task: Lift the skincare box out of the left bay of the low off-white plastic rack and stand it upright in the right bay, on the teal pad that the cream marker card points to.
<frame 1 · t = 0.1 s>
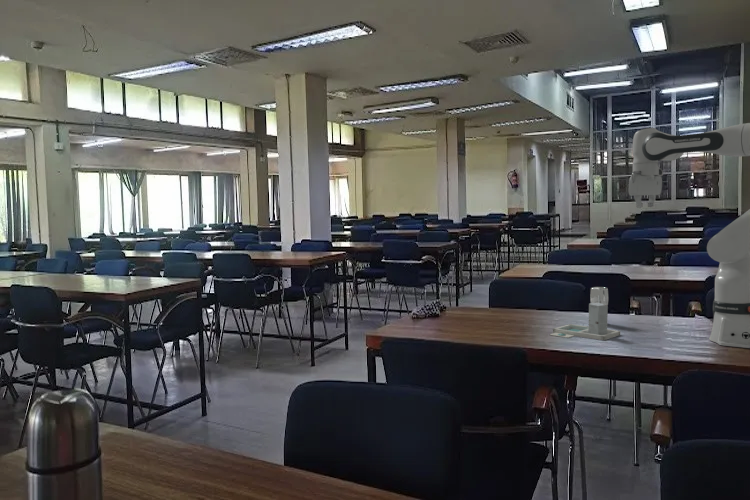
hand: (645, 207, 228), 48 cm above the table, tool pointing down, fingers open, 8 cm apart
beer glass: (599, 324, 246), on the table
rack: (586, 333, 228), on the table
skincare box: (598, 336, 224), resting in rack
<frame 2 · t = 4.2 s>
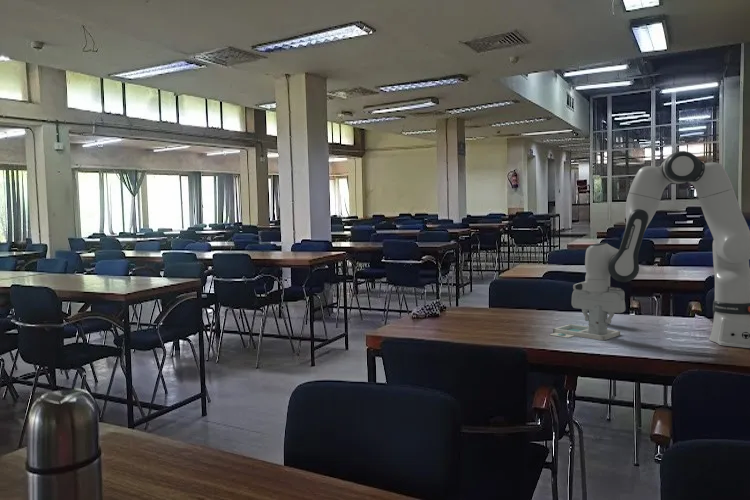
hand: (597, 322, 224), 5 cm above the table, tool pointing down, fingers closed on skincare box, 7 cm apart
skincare box: (598, 336, 224), resting in rack, touching gripper
everything else where it was.
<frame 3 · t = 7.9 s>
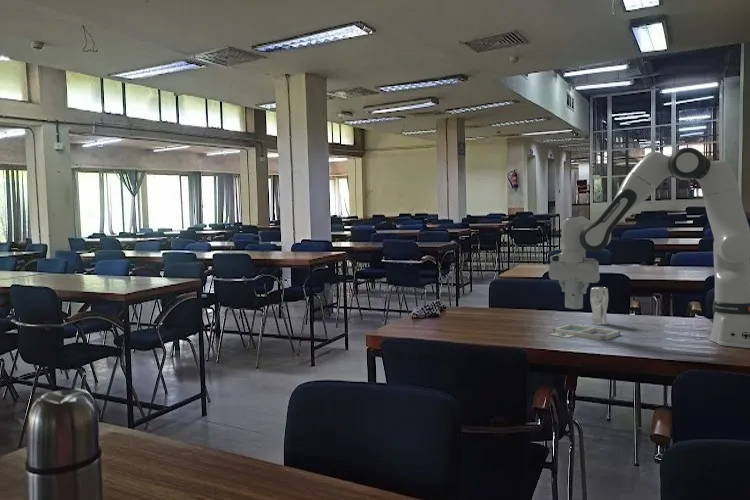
hand: (573, 292, 231), 16 cm above the table, tool pointing down, fingers closed on skincare box, 7 cm apart
skincare box: (574, 308, 231), point 9 cm above the table, touching gripper
everything else where it was.
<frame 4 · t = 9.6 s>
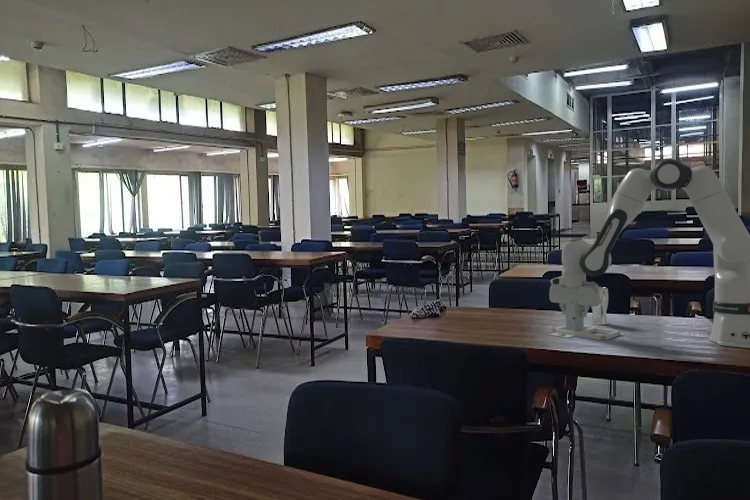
hand: (574, 315, 231), 7 cm above the table, tool pointing down, fingers closed on skincare box, 7 cm apart
skincare box: (575, 331, 232), resting on rack, touching gripper
everything else where it was.
when the fingers open (6 cm above the table, at t = 10.4 s): skincare box stays where it is, resting on rack.
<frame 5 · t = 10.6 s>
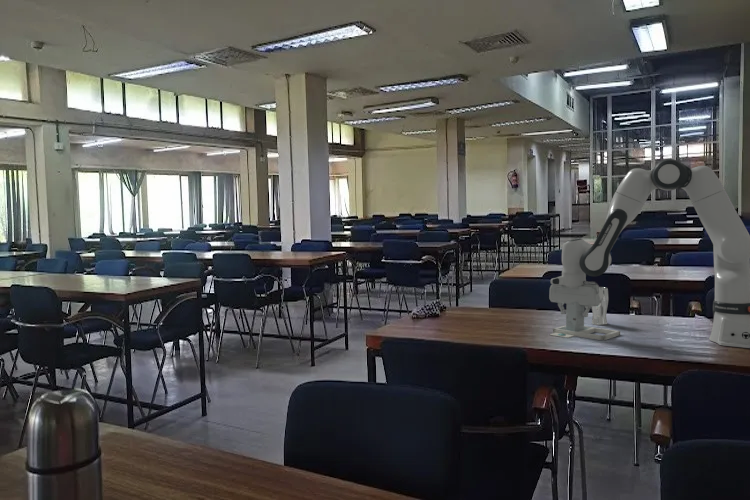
hand: (574, 315, 232), 7 cm above the table, tool pointing down, fingers open, 8 cm apart
skincare box: (575, 332, 232), resting on rack
everything else where it was.
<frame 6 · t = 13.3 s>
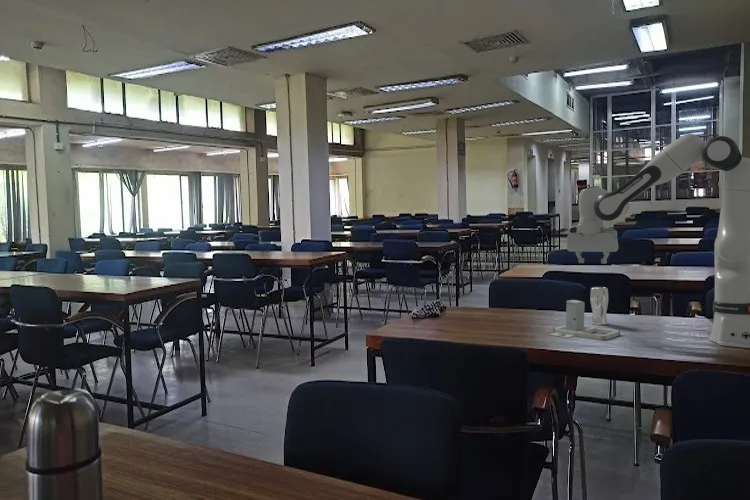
hand: (592, 263, 233), 27 cm above the table, tool pointing down, fingers open, 8 cm apart
nothing on the table moved.
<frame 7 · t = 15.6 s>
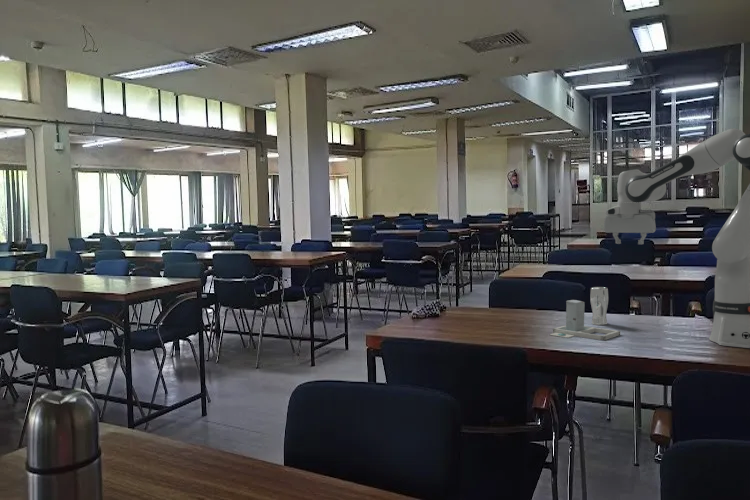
hand: (629, 244, 240), 33 cm above the table, tool pointing down, fingers open, 8 cm apart
nothing on the table moved.
at the end: skincare box 0.5 cm from the target spot on the rack, point 0.0 cm above the rack's base; skincare box tilted 0°; the gripper is holding nothing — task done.
